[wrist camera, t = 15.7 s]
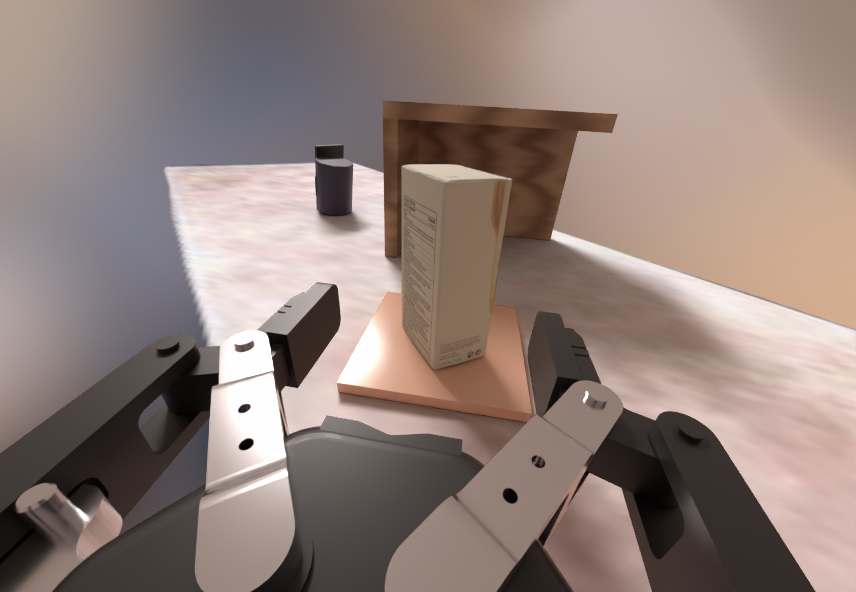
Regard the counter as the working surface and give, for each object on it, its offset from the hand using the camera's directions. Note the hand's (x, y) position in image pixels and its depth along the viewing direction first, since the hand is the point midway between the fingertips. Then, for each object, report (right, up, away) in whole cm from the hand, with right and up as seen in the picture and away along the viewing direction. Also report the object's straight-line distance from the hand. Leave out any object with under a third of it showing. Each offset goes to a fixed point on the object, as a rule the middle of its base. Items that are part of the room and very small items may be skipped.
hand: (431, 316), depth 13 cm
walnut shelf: (+6, +8, +32) cm, 33 cm away
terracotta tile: (+1, -3, +12) cm, 13 cm away
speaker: (-16, +15, +43) cm, 48 cm away
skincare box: (+1, -3, +12) cm, 12 cm away
